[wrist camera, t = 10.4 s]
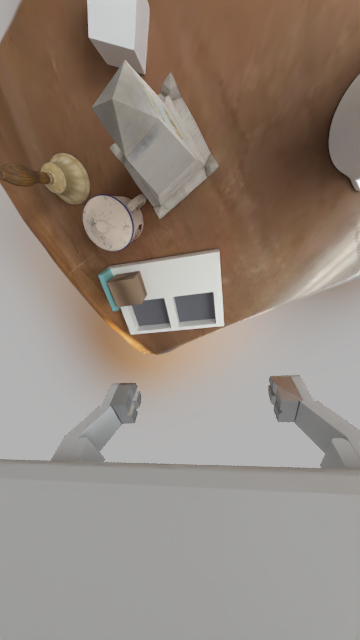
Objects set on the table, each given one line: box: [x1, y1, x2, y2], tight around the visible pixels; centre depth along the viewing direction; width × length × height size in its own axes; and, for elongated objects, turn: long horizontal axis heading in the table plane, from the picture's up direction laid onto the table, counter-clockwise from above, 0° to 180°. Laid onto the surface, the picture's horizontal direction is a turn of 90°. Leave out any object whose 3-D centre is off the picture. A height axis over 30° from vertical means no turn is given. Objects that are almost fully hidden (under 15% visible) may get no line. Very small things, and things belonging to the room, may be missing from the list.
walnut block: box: [107, 271, 147, 307], centre depth 44 cm, size 6×6×5 cm
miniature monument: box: [92, 60, 219, 219], centre depth 23 cm, size 10×10×30 cm
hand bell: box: [0, 153, 90, 205], centre depth 31 cm, size 8×8×16 cm
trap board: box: [98, 248, 224, 335], centre depth 47 cm, size 26×19×7 cm
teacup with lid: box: [83, 194, 146, 251], centre depth 36 cm, size 12×9×12 cm
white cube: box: [87, 0, 150, 75], centre depth 25 cm, size 6×6×6 cm
